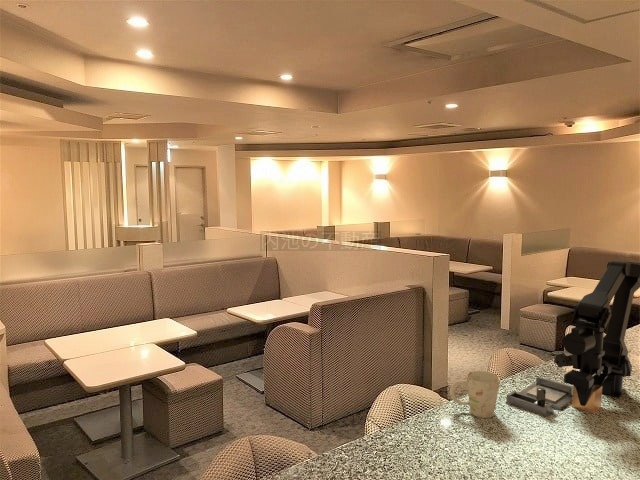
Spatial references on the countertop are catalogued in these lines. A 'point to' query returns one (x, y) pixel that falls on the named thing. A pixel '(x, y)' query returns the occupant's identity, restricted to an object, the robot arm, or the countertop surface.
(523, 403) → the lever track
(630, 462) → the countertop surface
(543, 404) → the lever
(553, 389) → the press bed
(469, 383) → the mug
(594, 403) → the block
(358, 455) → the countertop surface
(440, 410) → the countertop surface
